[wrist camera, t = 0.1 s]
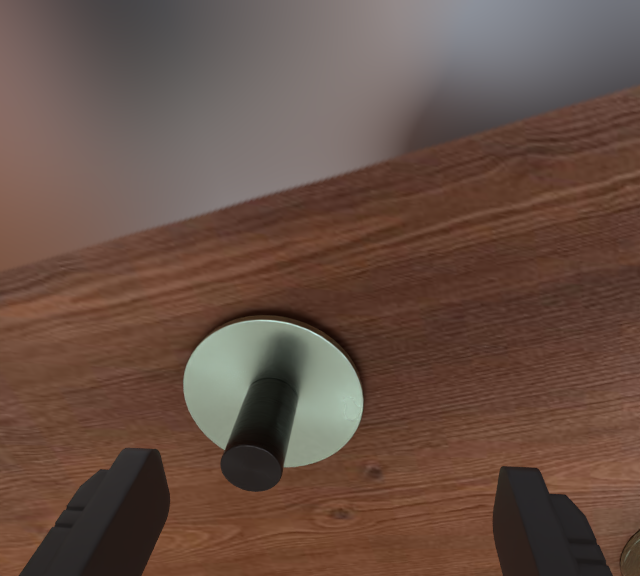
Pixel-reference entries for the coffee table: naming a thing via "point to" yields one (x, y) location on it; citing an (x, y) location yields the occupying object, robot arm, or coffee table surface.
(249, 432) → the pot lid
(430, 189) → the coffee table surface
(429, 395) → the coffee table surface
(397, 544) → the coffee table surface
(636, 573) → the pot
